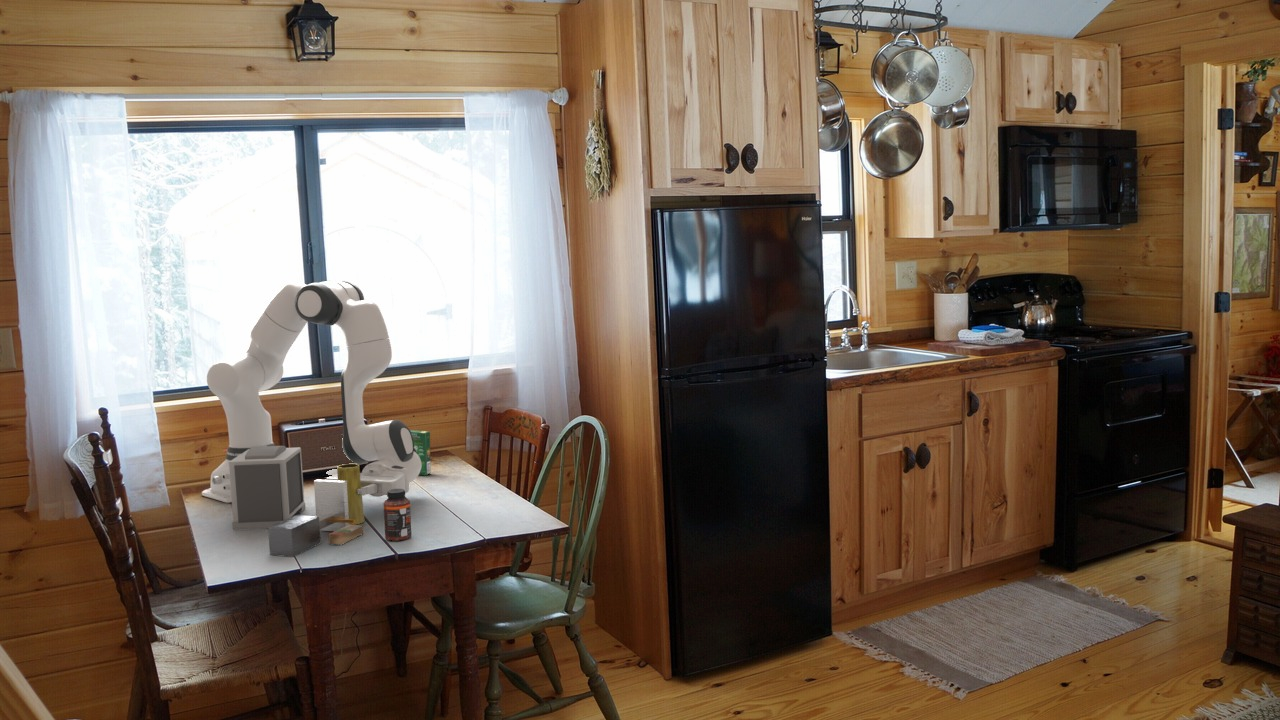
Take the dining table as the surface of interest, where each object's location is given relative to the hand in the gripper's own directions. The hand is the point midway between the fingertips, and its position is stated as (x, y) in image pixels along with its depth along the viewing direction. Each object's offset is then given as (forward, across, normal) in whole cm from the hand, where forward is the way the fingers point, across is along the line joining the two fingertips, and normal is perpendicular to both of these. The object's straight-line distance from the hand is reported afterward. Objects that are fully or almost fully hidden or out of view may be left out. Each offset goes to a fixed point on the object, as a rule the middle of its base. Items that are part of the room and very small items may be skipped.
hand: (347, 491), depth 245 cm
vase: (-1, 0, +8) cm, 8 cm away
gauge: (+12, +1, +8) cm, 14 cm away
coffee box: (-51, -11, +8) cm, 53 cm away
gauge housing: (+21, 0, +8) cm, 23 cm away
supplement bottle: (+8, +18, +8) cm, 22 cm away
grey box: (0, -23, +8) cm, 24 cm away
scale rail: (+12, +7, +8) cm, 16 cm away
